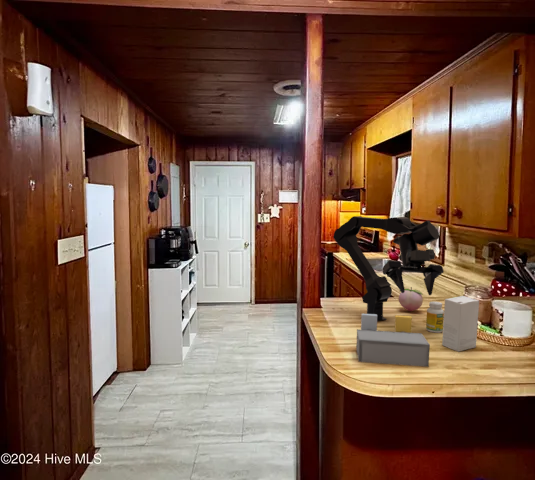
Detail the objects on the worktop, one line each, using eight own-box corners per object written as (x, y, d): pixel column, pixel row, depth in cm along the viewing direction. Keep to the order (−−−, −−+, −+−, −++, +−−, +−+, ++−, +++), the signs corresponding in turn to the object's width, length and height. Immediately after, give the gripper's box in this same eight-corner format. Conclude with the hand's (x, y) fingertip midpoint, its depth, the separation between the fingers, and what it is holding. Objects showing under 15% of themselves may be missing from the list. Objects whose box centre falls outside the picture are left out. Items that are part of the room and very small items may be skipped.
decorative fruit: (424, 310, 156) (425, 286, 155) (420, 315, 149) (421, 290, 148) (400, 307, 161) (401, 283, 160) (395, 311, 154) (396, 287, 153)
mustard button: (394, 340, 118) (395, 315, 117) (409, 342, 117) (410, 316, 116) (399, 352, 108) (401, 325, 108) (416, 353, 108) (418, 326, 107)
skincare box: (459, 341, 121) (462, 295, 119) (477, 348, 115) (480, 299, 114) (440, 345, 117) (443, 297, 116) (458, 352, 112) (461, 302, 110)
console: (356, 349, 113) (357, 329, 113) (420, 353, 110) (421, 333, 110) (358, 361, 104) (359, 340, 104) (428, 366, 102) (429, 344, 101)
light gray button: (360, 338, 119) (361, 313, 118) (375, 339, 119) (376, 314, 118) (363, 350, 110) (364, 322, 109) (379, 351, 109) (380, 323, 108)
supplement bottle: (431, 327, 135) (433, 300, 134) (446, 331, 131) (447, 303, 130) (422, 329, 132) (423, 302, 131) (436, 334, 128) (438, 305, 127)
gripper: (393, 236, 123) (400, 281, 115) (447, 241, 125) (458, 286, 117) (379, 252, 132) (385, 295, 124) (430, 257, 134) (439, 299, 127)
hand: (416, 293), depth 123 cm, fingers open, 9 cm apart
